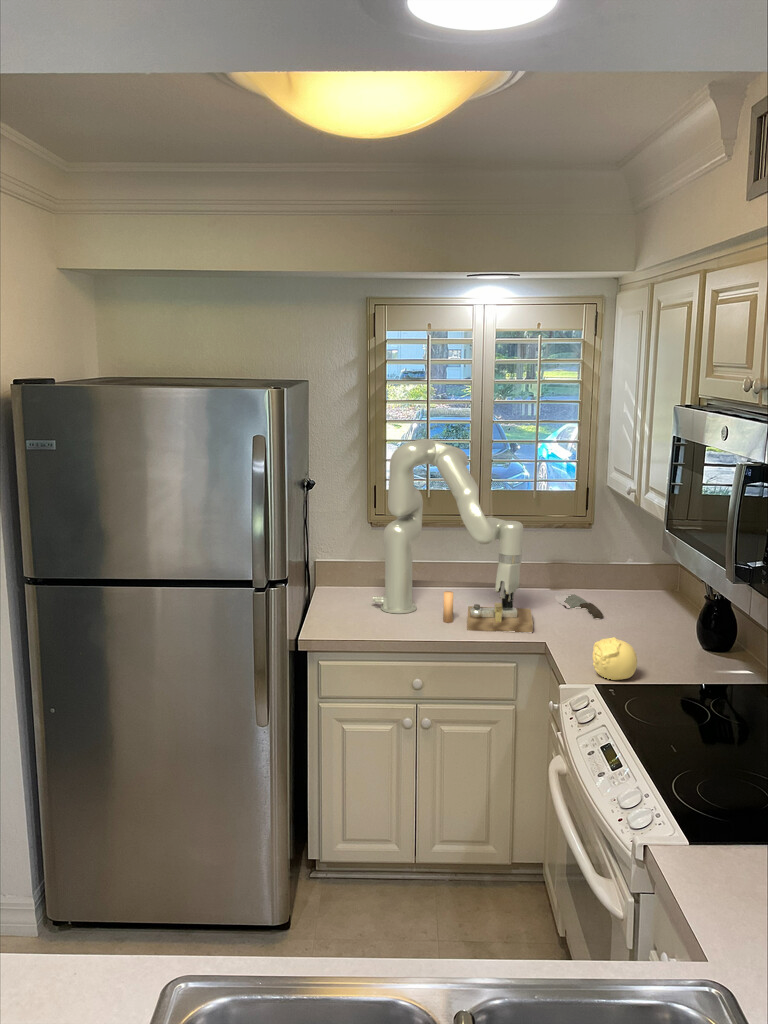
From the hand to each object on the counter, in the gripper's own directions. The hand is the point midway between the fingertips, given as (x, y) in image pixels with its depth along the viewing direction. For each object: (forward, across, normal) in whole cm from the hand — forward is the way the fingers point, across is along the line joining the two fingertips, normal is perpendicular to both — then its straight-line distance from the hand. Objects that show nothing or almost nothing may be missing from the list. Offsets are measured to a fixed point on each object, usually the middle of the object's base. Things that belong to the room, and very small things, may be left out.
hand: (506, 611), depth 278 cm
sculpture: (+3, +29, +45) cm, 53 cm away
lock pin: (+4, +10, -17) cm, 20 cm away
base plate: (+4, +3, -1) cm, 5 cm away
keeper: (+1, +7, 0) cm, 7 cm away
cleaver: (+4, -30, +15) cm, 34 cm away
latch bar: (0, +6, -2) cm, 6 cm away
